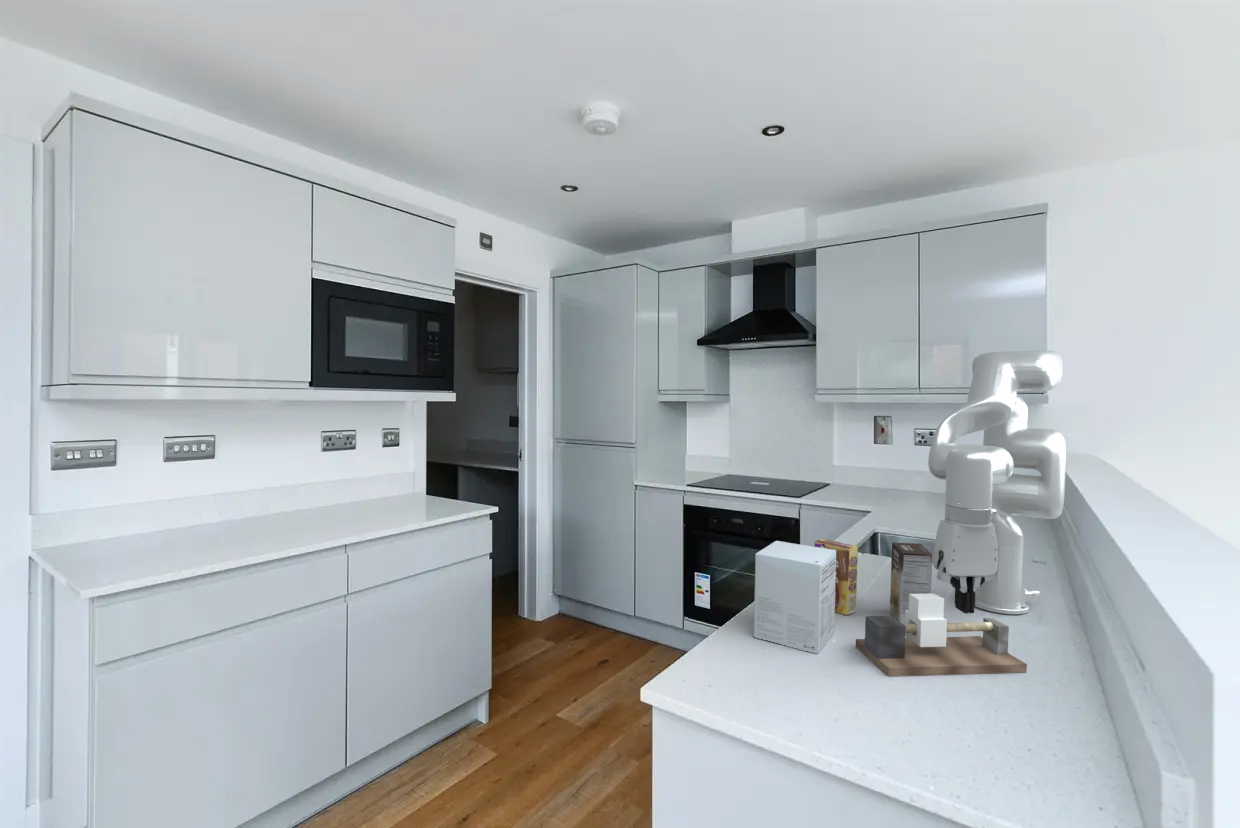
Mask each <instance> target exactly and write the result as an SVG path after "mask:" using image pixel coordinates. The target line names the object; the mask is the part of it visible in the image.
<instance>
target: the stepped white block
mask: <svg viewBox="0 0 1240 828" xmlns="http://www.w3.org/2000/svg"><path fill="white" fill-rule="evenodd" d="M944 611H945V598H944V597H941V596H939V595H938V594H936V593H932V592H931V594H909V610H906V611H905V624H917V633H905V638H908V639H910V640H911V641H913V642H914V643H915V644H917V645H918V646H919V647H946V637H947V634H948V632H947V623H948V619H947V618H945V617H944V616H945V612H944Z"/></svg>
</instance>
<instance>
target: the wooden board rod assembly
mask: <svg viewBox="0 0 1240 828" xmlns="http://www.w3.org/2000/svg"><path fill="white" fill-rule="evenodd" d="M864 620H865V622H864V624H865V625H864V626H865V627H864V630H865V631H864V638H855V647H856V649H858V650H859V652H861V653H862V654H863V655H864V656H865V657H867V659H868V660H870V662H872V663H873V664H874V665H875V666H877V668H878V669H880V670H881V671H882V672H883V673H885V675H887V676H888V677H909V676H910V677H914V676H915V677H916V676H946V675H947V676H948V675H980V674H981V675H982V674H1013V673H1014V674H1018V673H1020V674H1021V673H1027V670H1028V669H1027V668H1028V667H1027V666H1028V665H1027V662H1024V661H1022V660H1021V659H1019V658H1017V657H1015V656H1014V655H1012V654H1010V652H1009V631H1010V630H1009V629H1010V626H1009V625H1007V624H1005V623H1004V622H1002V621H1000V620H998V619H996V618H994V617H983V619H982V620H983V621H982V622H981V621H978V622H977V621H973V622H971V621H970V622H969V621H968V622H947V633H954V632H955V633H958V632H959V633H960V632H961V633H962V632H967V633H968V632H982V636H980V635H979V636H977V635H976V636H974V635H973V636H946V647H919V646H918V645H917V644H915V643H914V642H913V641H911V640H910V639H908V638H907V637H906V636H905V633H917V624H902V623H901V622H899V621H898V620H896V619H895V617H894V616H892V615H890V614H889V615H866V616H865V619H864Z"/></svg>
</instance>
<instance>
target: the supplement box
mask: <svg viewBox="0 0 1240 828" xmlns="http://www.w3.org/2000/svg"><path fill="white" fill-rule="evenodd" d="M754 557H755V558H754V559H755V561H754V562H755V563H754V565H755V566H754V567H755V568H754V572H755V573H754V607H753V608H754V609H753V635H752V636H754V637H756V638H755V639H757V638H759V639H758V640H761V639H763V640H762V641H764V640H768V641H772V642H775V643H774V644H776V643H779V644H778V645H780V644H782V645H781V646H784V645H786V646H785V647H788V646H789V648H792V647H793V648H792V649H796V648H797V650H800V651H805V652H807V651H808V653H811V654H812V653H813V654H817V655H818V654H820V652H821V651H822V649H823V648H824V647H825V645H826V644H827V643H828V641H829V640H830V638H832V636H833V634H835V615H836V614H835V613H836V612H835V580H836V550H833V549H826V548H820V547H815V546H813V545H806V544H798V543H793V542H792V543H791V542H787V541H780V540H775V541H773V542H771V543H770V544H769V545H767V546H765V547H764V548H762V549H761V550H759V551H757V552H756V553H755V556H754ZM754 637H753V638H754ZM768 641H767V642H768ZM772 642H771V643H772Z"/></svg>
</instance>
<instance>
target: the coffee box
mask: <svg viewBox="0 0 1240 828" xmlns="http://www.w3.org/2000/svg"><path fill="white" fill-rule="evenodd" d="M933 559H934V554H933V553H931V552H930V551H929V550H928V549H927V548H926V547H925V546H924V544H922V543H914V542H913V543H910V542H909V543H908V542H891V565H890V570H891V571H890V596H889V597H890V598H889V599H890V600H889V610H890V612H891V614H892V615H893V617H894V618H895V619H896V620H898V621H899V622H901V623H902V624H905V611H906V610H909V594H931V593H932V578H933V576H932V575H933Z"/></svg>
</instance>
